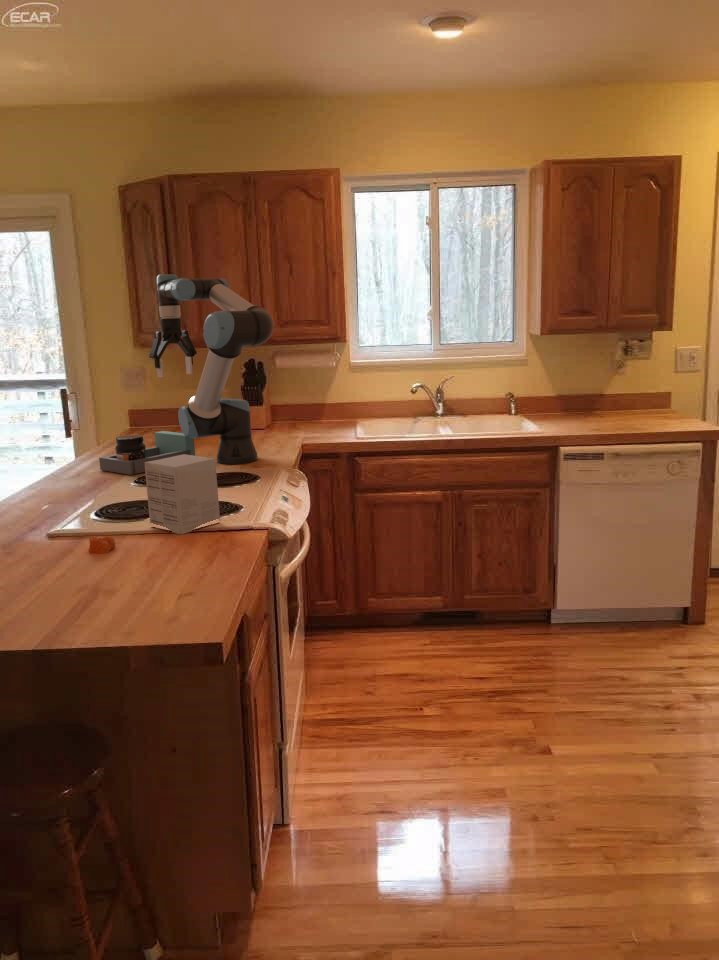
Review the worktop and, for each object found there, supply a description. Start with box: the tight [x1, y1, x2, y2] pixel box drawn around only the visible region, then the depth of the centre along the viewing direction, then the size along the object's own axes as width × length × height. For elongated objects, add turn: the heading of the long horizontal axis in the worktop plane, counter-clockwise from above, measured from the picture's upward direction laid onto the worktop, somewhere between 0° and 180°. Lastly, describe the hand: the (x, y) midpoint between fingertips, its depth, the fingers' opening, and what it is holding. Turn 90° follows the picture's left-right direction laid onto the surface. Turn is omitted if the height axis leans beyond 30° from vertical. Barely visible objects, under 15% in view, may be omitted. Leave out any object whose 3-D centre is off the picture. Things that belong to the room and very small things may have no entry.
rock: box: [88, 536, 116, 555], centre depth 186 cm, size 12×12×4 cm
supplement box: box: [144, 454, 221, 535], centre depth 203 cm, size 13×13×18 cm
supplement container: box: [114, 434, 147, 461], centre depth 281 cm, size 10×10×12 cm
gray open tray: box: [98, 430, 196, 476], centre depth 287 cm, size 18×29×10 cm, turn 142°
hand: (175, 375), depth 293 cm, fingers open, 13 cm apart
